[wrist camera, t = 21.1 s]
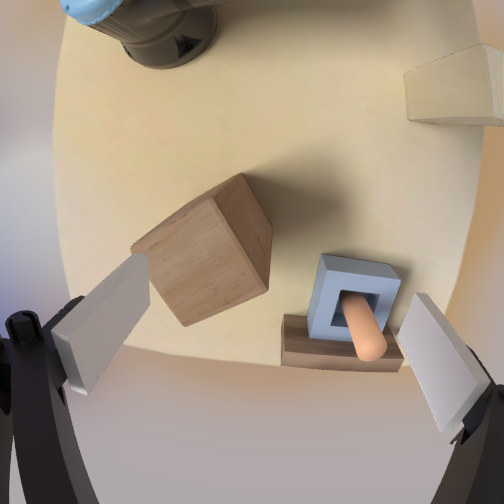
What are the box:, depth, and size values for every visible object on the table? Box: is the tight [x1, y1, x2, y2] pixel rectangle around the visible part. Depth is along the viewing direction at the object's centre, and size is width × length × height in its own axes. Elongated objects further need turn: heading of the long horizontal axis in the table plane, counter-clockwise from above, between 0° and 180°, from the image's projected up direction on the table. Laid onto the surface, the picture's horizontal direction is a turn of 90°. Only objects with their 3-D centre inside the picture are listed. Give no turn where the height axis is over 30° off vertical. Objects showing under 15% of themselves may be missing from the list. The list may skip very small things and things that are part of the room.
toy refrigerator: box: [404, 44, 504, 126], centre depth 25 cm, size 8×7×21 cm
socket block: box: [307, 254, 401, 342], centre depth 45 cm, size 12×12×6 cm
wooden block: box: [130, 173, 273, 327], centre depth 36 cm, size 10×10×20 cm
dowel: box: [339, 290, 387, 362], centre depth 39 cm, size 4×4×14 cm
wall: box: [281, 314, 404, 372], centre depth 46 cm, size 3×20×10 cm, turn 83°
